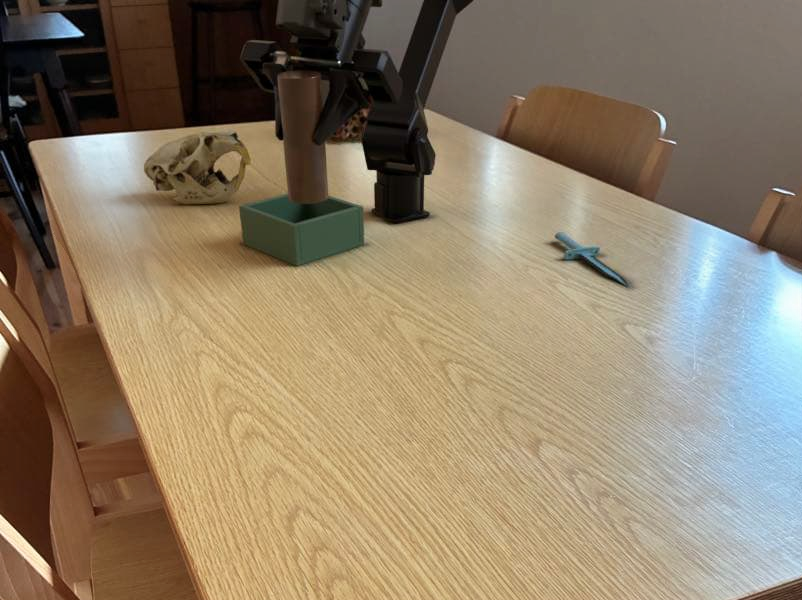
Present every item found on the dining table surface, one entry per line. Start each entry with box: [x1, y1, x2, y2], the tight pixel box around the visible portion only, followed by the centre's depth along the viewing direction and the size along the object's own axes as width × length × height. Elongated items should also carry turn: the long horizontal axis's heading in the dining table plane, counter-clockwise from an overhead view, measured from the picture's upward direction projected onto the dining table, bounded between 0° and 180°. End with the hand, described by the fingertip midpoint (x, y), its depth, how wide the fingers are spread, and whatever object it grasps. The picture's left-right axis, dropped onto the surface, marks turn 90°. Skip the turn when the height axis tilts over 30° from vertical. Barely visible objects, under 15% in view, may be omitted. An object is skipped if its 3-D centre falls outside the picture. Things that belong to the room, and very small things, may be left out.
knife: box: [554, 231, 629, 288], centre depth 103 cm, size 17×1×5 cm
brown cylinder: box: [277, 70, 329, 204], centre depth 92 cm, size 5×5×13 cm
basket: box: [238, 193, 365, 267], centre depth 107 cm, size 12×12×5 cm
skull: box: [143, 129, 251, 205], centre depth 121 cm, size 10×16×10 cm, turn 78°
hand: (297, 140), depth 92 cm, fingers closed on brown cylinder, 5 cm apart
